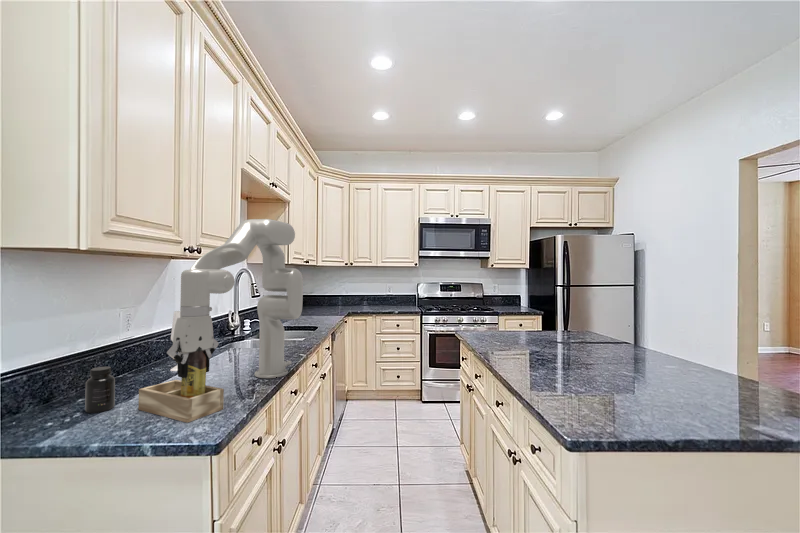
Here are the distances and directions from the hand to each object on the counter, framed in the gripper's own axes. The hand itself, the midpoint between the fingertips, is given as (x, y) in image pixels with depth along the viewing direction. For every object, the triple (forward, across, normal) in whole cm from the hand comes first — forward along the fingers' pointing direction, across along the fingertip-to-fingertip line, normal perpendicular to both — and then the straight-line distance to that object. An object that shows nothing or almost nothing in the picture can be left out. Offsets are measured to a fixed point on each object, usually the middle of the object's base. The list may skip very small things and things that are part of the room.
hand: (193, 373), depth 110 cm
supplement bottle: (+11, +11, -26) cm, 30 cm away
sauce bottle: (+9, 0, 0) cm, 9 cm away
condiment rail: (+11, 0, -5) cm, 12 cm away
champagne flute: (+11, -30, -50) cm, 60 cm away
